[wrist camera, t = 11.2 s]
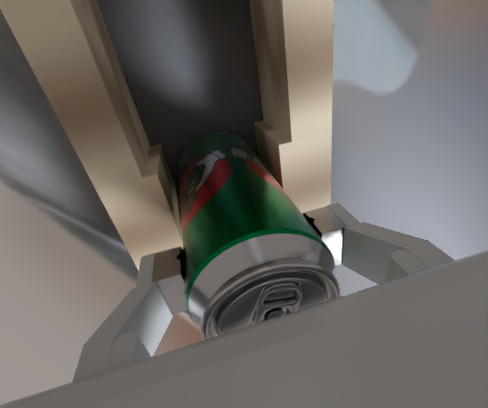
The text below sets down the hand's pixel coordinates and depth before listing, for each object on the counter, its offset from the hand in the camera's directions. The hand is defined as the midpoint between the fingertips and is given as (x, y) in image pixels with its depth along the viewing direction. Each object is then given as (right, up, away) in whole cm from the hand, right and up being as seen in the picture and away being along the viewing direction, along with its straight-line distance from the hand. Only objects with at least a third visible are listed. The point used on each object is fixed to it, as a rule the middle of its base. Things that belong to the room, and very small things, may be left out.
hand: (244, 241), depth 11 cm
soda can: (-2, +4, +7) cm, 8 cm away
